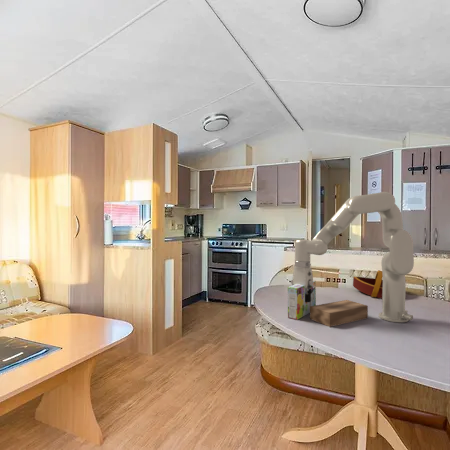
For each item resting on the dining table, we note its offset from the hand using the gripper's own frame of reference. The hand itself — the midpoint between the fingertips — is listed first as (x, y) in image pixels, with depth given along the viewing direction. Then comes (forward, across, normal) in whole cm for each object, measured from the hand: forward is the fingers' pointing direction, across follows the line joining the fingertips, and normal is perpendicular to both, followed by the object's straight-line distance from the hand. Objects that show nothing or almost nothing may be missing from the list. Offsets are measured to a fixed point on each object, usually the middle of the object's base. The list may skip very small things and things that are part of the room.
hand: (302, 299), depth 154 cm
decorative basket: (+7, +11, -73) cm, 74 cm away
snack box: (+7, 0, 0) cm, 7 cm away
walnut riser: (+7, -14, -10) cm, 19 cm away
